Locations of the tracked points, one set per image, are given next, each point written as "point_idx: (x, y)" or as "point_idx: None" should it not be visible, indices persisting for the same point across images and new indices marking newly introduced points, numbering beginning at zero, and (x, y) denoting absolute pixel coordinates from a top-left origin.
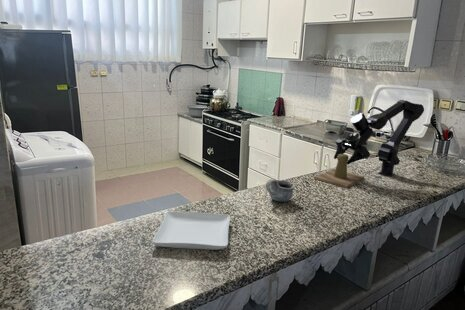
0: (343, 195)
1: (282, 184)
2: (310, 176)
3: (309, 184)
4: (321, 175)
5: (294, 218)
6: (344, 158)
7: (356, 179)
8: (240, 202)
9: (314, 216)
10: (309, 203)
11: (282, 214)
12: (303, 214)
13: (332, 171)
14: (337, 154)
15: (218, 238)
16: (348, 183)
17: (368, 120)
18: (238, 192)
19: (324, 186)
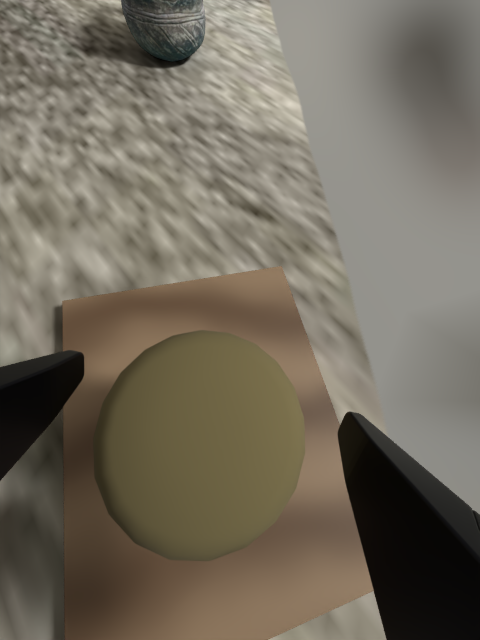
0: (31, 212)
1: (182, 1)
2: (323, 291)
3: (229, 202)
4: (284, 318)
5: (59, 11)
6: (127, 367)
7: (77, 501)
8: (216, 7)
9: (22, 36)
10: (91, 81)
11: (97, 11)
12: (55, 31)
13: (331, 482)
14: (382, 488)
15: None
16: (77, 345)
17: None
18: (275, 33)
19: (170, 234)
